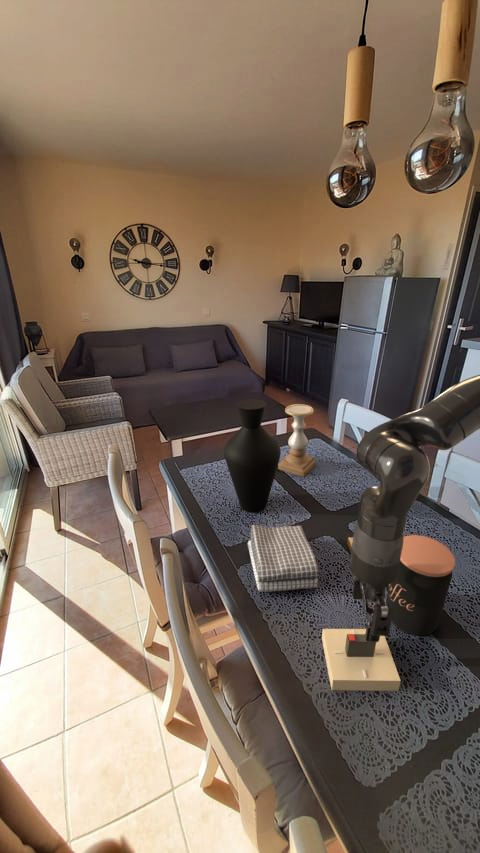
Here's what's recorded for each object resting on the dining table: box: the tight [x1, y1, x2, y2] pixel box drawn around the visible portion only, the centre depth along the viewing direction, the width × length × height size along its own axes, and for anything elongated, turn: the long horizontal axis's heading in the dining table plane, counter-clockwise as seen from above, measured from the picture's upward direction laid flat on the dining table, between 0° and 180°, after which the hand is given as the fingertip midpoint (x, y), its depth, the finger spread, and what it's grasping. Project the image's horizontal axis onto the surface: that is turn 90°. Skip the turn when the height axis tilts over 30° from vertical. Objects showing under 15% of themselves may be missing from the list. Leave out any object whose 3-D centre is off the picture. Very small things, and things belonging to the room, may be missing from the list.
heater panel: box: [321, 628, 401, 692], centre depth 69 cm, size 12×10×3 cm
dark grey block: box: [345, 634, 376, 657], centre depth 68 cm, size 5×2×4 cm, turn 88°
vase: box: [223, 398, 282, 514], centre depth 110 cm, size 17×17×35 cm
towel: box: [247, 524, 320, 593], centre depth 92 cm, size 15×18×8 cm
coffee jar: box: [385, 534, 456, 637], centre depth 75 cm, size 11×11×18 cm
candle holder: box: [277, 403, 317, 478], centre depth 134 cm, size 11×11×24 cm
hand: (364, 617), depth 65 cm, fingers open, 8 cm apart
